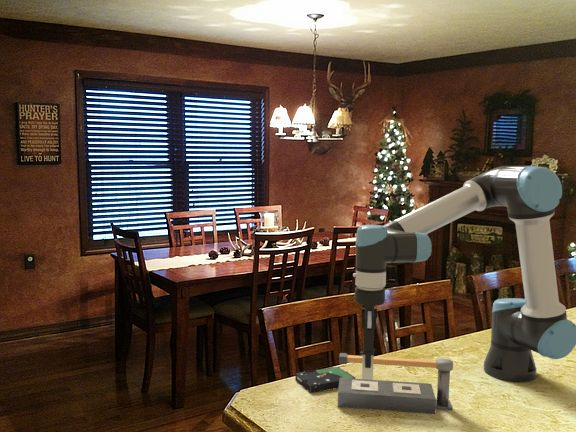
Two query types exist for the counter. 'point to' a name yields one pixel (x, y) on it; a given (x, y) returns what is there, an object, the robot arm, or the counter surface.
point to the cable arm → (400, 362)
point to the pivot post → (443, 391)
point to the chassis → (386, 395)
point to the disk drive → (321, 378)
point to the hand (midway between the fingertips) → (367, 378)
